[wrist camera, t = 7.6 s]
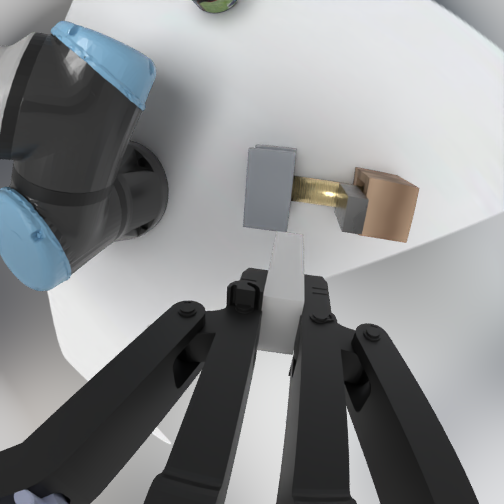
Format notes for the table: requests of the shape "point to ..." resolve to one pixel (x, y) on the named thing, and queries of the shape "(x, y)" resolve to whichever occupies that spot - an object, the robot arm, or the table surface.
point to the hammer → (334, 200)
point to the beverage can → (214, 5)
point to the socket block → (387, 204)
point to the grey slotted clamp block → (269, 187)
